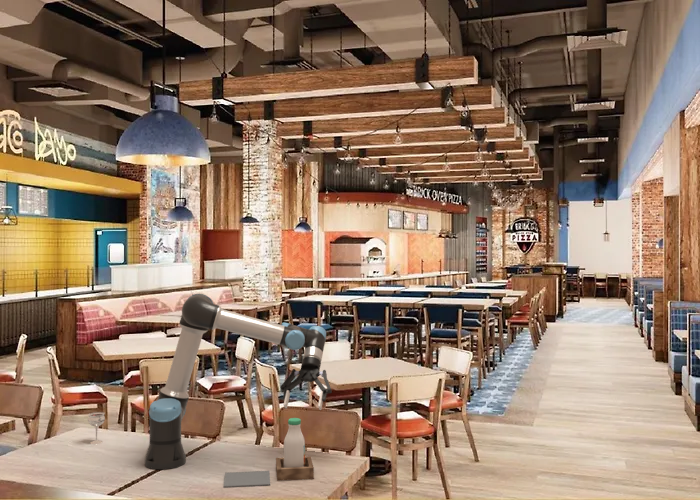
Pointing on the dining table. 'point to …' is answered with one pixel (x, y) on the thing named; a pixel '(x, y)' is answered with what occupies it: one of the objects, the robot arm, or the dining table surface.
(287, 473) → the walnut collar
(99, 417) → the wineglass
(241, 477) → the slate mat
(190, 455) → the dining table surface
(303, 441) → the milk bottle
